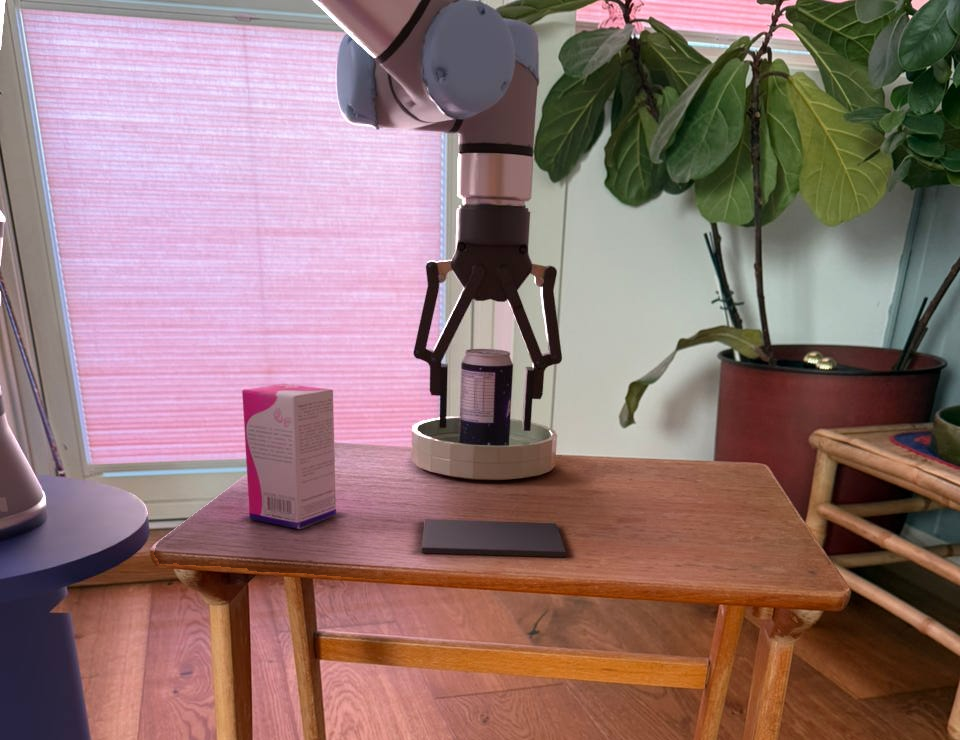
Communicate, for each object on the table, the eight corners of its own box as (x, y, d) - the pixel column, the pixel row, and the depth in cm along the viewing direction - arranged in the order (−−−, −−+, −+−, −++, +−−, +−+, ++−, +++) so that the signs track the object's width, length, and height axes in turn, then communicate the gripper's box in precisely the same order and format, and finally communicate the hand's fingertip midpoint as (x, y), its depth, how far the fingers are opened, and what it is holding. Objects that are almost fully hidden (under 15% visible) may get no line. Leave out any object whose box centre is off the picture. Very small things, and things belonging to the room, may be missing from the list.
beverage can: (513, 466, 102) (519, 355, 97) (463, 467, 100) (467, 354, 95) (501, 455, 107) (506, 348, 102) (454, 455, 105) (457, 347, 100)
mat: (421, 553, 75) (421, 547, 75) (424, 524, 83) (424, 519, 82) (565, 557, 76) (566, 551, 76) (555, 528, 83) (556, 523, 83)
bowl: (408, 481, 96) (409, 443, 94) (414, 447, 111) (415, 414, 109) (561, 486, 97) (564, 449, 95) (546, 451, 111) (549, 418, 110)
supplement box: (338, 514, 84) (335, 388, 79) (298, 530, 79) (292, 396, 75) (288, 504, 87) (282, 380, 82) (247, 519, 82) (238, 389, 77)
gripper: (593, 209, 96) (575, 423, 106) (390, 199, 95) (391, 417, 105) (603, 207, 90) (583, 437, 99) (385, 198, 89) (386, 430, 98)
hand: (484, 426), depth 102 cm, fingers open, 9 cm apart
